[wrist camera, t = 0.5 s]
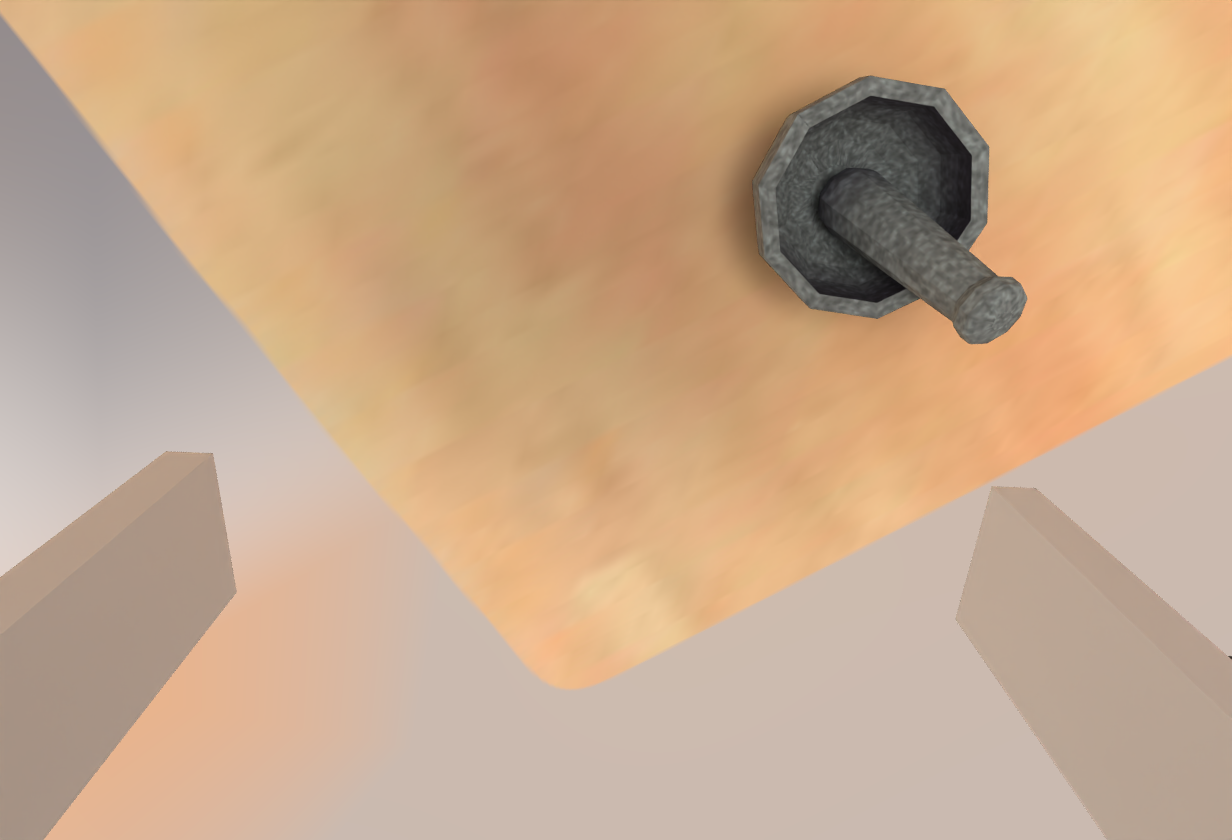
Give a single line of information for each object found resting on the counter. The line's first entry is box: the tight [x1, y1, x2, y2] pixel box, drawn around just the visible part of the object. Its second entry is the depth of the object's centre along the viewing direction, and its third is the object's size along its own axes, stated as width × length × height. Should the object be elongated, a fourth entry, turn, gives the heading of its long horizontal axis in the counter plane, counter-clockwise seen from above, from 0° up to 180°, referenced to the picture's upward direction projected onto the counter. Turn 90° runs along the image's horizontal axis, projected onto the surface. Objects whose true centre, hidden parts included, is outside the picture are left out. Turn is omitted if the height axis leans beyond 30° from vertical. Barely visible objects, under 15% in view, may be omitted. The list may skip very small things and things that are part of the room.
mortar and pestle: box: [752, 76, 1027, 344], centre depth 32 cm, size 11×9×12 cm
